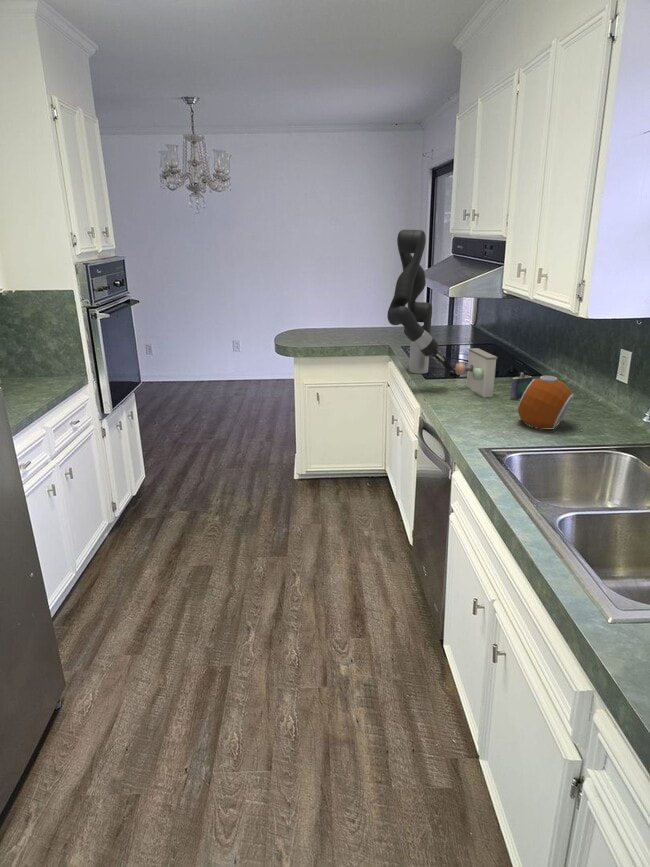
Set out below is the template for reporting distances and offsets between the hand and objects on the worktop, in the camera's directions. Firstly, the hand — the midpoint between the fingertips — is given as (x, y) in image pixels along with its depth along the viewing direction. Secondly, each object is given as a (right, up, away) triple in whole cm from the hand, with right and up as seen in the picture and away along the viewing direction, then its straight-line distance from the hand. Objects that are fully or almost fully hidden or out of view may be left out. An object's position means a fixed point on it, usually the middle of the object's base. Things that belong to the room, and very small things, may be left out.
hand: (450, 369), depth 249 cm
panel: (+12, -9, 0) cm, 15 cm away
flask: (+26, -13, -10) cm, 31 cm away
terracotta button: (+7, -2, +2) cm, 8 cm away
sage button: (+12, -5, -7) cm, 15 cm away
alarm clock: (+24, -24, -41) cm, 53 cm away
